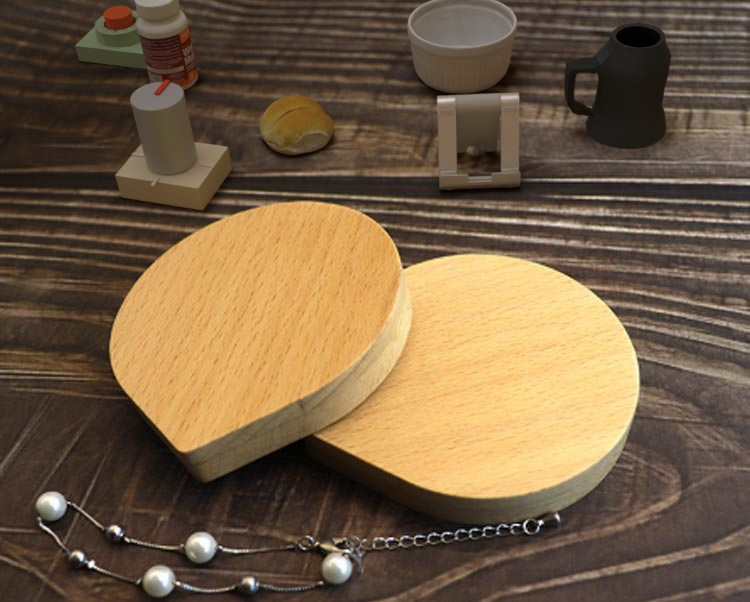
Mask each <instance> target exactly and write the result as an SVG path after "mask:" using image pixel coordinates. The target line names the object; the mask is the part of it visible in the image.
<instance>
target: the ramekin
mask: <svg viewBox="0 0 750 602" xmlns="http://www.w3.org/2000/svg"><path fill="white" fill-rule="evenodd" d="M517 19H518V18H517V15H516V14H515V13H514V11H513V10H512V9H511V8H510V7H508V6H507V4H504V3H502V2H500V1H498V0H428V1H426V2H424V3H422V4H420V5H419V6H417V8H415V9H414V10H413V11H411V13H410V15H409V17H408V19H407V36H408V39H409V42H410V48H411V49H410V50H411V56H412V61H413V62H412V63H413V67H414V70H415V72H416V73H415V74H417V76H418V78H419V79H420V80H421V81H422V82H423V83H424V84H425V85H426V86H428V87H429V88H432V89H433V90H436V91H439V92H441V93H442V92H443V93H446V94H447V93H448V94H453V95H469V94H476V93H479V92H482V91H485V90H488V89H490V88H491V87H494V86H495V85H496V84H498V83H499V81H501V80H502V79H503V78H504V77H505V75H506V73H507V72H508V69H509V67H510V62H511V59H512V58H511V57H512V52H513V47H514V46H513V45H514V40H515V39H516V36H517V33H518V20H517Z"/></svg>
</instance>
